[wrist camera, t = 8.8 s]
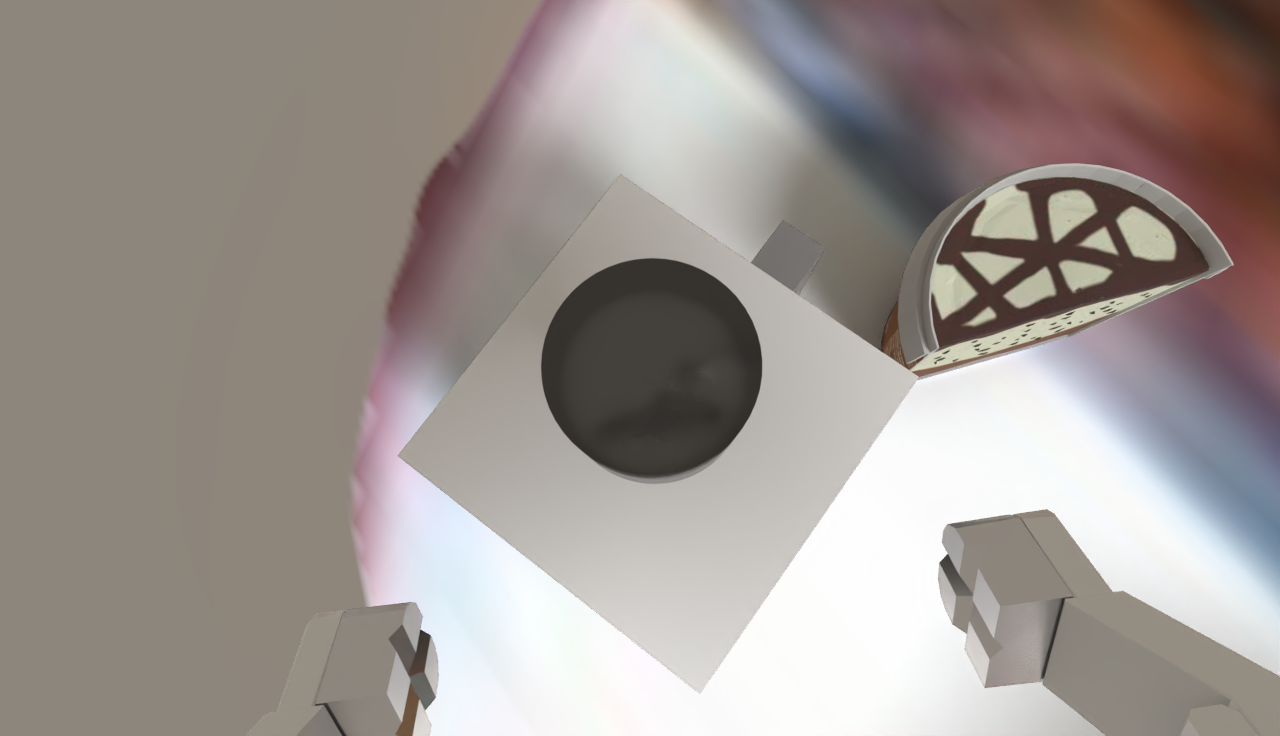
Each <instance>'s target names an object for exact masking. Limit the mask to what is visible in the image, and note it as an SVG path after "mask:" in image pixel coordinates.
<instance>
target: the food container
mask: <svg viewBox="0 0 1280 736" xmlns="http://www.w3.org/2000/svg"><path fill="white" fill-rule="evenodd" d="M1231 265H1234V264H1233V262H1232V260H1231V259H1230V257H1229V255H1228V253H1227V251H1226V250H1225V248H1224V246H1223V244H1222V243H1221V242H1220V240H1219V239H1218V238H1217V236H1216V235H1215V234H1214V233H1213V231H1212V230H1211V229H1210V227H1209V226H1208V225H1207V224H1206V223H1205V222H1204V221H1203V220H1202V219H1201V218H1200V217H1199V216H1198V215H1197V214H1196V213H1195V212H1194V211H1193V210H1192V209H1191V208H1190V207H1189V206H1187V205H1186V204H1185V203H1183V202H1182V201H1181V200H1179V199H1178V198H1177V197H1175V196H1174V195H1173V194H1171V193H1170V192H1168V191H1167V190H1165V189H1163V188H1161V187H1159V186H1157V185H1156V184H1154V183H1152V182H1150V181H1148V180H1146V179H1143V178H1141V177H1138V176H1136V175H1133V174H1130V173H1128V172H1125V171H1121V170H1117V169H1113V168H1109V167H1104V166H1100V165H1089V164H1078V163H1073V164H1054V165H1042V166H1037V167H1031V168H1026V169H1021V170H1018V171H1015V172H1012V173H1009V174H1007V175H1004V176H1001V177H998V178H996V179H994V180H992V181H990V182H988V183H986V184H984V185H982V186H980V187H978V188H976V189H974V190H973V191H971V192H969V193H967V194H965V195H964V196H962V197H960V198H958V199H957V200H956V201H955V202H953V203H952V204H951V205H950V206H948V207H947V208H946V209H945V210H943V211H942V212H941V213H940V214H939V215H938V216H937V217H936V218H935V219H934V221H933V222H932V223H931V224H930V225H929V226H928V227H927V228H926V229H925V231H924V232H923V234H922V236H921V237H920V239H919V240H918V242H917V244H916V245H915V247H914V248H913V250H912V253H911V255H910V258H909V260H908V263H907V265H906V267H905V270H904V274H903V278H902V283H901V287H900V292H899V300H898V301H897V303H896V305H895V306H894V308H893V310H892V311H891V313H890V315H889V318H888V320H887V323H886V325H885V328H884V333H883V338H882V345H881V352H883V353H884V354H886V355H887V356H889V357H890V358H892V359H893V360H895V361H896V362H898V363H899V364H901V365H902V366H903V367H905V368H906V369H908V370H909V371H911V372H912V373H914V374H915V375H917V376H918V377H919V378H918V379H917V380H920V379H924V378H927V377H931V376H934V375H938V374H941V373H945V372H948V371H952V370H955V369H959V368H962V367H966V366H969V365H973V364H977V363H980V362H984V361H987V360H991V359H994V358H998V357H1001V356H1005V355H1008V354H1012V353H1015V352H1019V351H1022V350H1026V349H1029V348H1033V347H1036V346H1040V345H1043V344H1047V343H1050V342H1054V341H1057V340H1061V339H1064V338H1068V337H1071V336H1073V335H1076V334H1078V333H1080V332H1082V331H1085V330H1087V329H1089V328H1092V327H1094V326H1096V325H1098V324H1101V323H1103V322H1105V321H1107V320H1110V319H1112V318H1114V317H1116V316H1119V315H1121V314H1123V313H1125V312H1128V311H1130V310H1132V309H1135V308H1137V307H1139V306H1141V305H1144V304H1146V303H1148V302H1150V301H1153V300H1155V299H1157V298H1159V297H1162V296H1164V295H1166V294H1169V293H1171V292H1173V291H1175V290H1178V289H1180V288H1182V287H1184V286H1187V285H1189V284H1191V283H1193V282H1196V281H1198V280H1200V279H1203V278H1205V279H1208V278H1211V277H1212V276H1214V275H1216V274H1218V273H1220V272H1222V271H1224V270H1226V269H1228V267H1229V266H1231Z"/></svg>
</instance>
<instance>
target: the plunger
mask: <svg viewBox="0 0 1280 736" xmlns="http://www.w3.org/2000/svg"><path fill="white" fill-rule="evenodd" d="M541 377H542V384H543V390H544V395H545V397H546V400H547V403H548V406H549V409H550V411H551V413H552V415H553V417H554V419H555V421H556V422H557V424H558V425H559V427H560V428H561V430H562V431H563V433H564V434H565V435H566V436H567V437H568V438H569V439H570V441H571V442H572V443H573V444H574V445H575V446H577V447H578V448H579V449H580V450H581V451H582V452H584V453H585V454H586V455H587V456H588V457H589V458H591V459H592V460H593V461H594V462H595V463H597V464H598V465H599V466H601V467H602V468H604V469H605V470H607V471H608V472H610V473H612V474H614V475H616V476H618V477H620V478H623V479H626V480H630V481H633V482H639V483H645V484H663V483H671V482H676V481H680V480H683V479H686V478H689V477H691V476H693V475H695V474H697V473H699V472H701V471H703V470H704V469H706V468H707V467H709V466H710V465H712V464H713V463H714V462H715V461H716V460H717V459H718V458H719V457H720V456H722V454H723V453H724V452H725V451H726V450H727V448H728V447H729V446H730V445H731V443H732V442H733V441H734V439H735V438H736V437H737V435H738V434H739V432H740V431H741V430H742V428H743V427H744V425H745V423H746V422H747V420H748V419H749V417H750V415H751V413H752V411H753V408H754V406H755V404H756V401H757V398H758V394H759V391H760V386H761V379H762V353H761V346H760V342H759V338H758V334H757V331H756V329H755V326H754V324H753V321H752V319H751V317H750V316H749V314H748V312H747V310H746V308H745V307H744V306H743V304H742V303H741V302H740V300H739V299H738V298H737V296H736V295H735V294H734V293H733V292H732V291H731V290H730V289H729V288H728V287H727V286H726V285H724V284H723V283H722V282H721V281H719V280H718V279H717V278H715V277H714V276H712V275H710V274H709V273H707V272H705V271H704V270H701V269H699V268H697V267H695V266H692V265H690V264H686V263H683V262H679V261H675V260H669V259H660V258H645V259H635V260H630V261H625V262H621V263H618V264H615V265H613V266H610V267H607V268H605V269H603V270H601V271H599V272H597V273H595V274H594V275H592V276H591V277H589V278H588V279H586V280H585V281H583V282H582V283H581V284H580V285H579V286H578V287H577V288H575V289H574V290H573V291H572V292H571V293H570V295H569V296H568V297H567V298H566V299H565V300H564V301H563V303H562V304H561V306H560V307H559V309H558V310H557V312H556V313H555V315H554V317H553V319H552V321H551V323H550V325H549V328H548V331H547V334H546V337H545V340H544V345H543V350H542V358H541Z"/></svg>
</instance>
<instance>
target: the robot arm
mask: <svg viewBox="0 0 1280 736" xmlns="http://www.w3.org/2000/svg"><path fill="white" fill-rule="evenodd" d="M942 543H943V545H944V547H945V549H946V551H947V553H948V554H947V555H946V556H945V557H944V559H943V560H942V561H941V562H940V563H939V574H938V581H939V587H940V593H941V598H942V601H943V604H944V607H945V609H946V612H947V614H948V616H949V618H950V620H951V622H952V624H953V625H955V626H956V627H958V628H959V629H961V630H962V631H964V632H965V633H967V638H966V645H965V651H966V653H967V654H968V656H969V658H970V660H971V662H972V664H973V666H974V668H975V670H976V672H977V674H978V676H979V678H980V680H981V682H982V684H983V686H984V688H989V687H998V686H1006V685H1015V684H1024V683H1033V682H1041V681H1043V685H1044V686H1045V687H1046V688H1048V689H1049V690H1050V691H1051V692H1053V693H1054V694H1055V695H1056V696H1058V697H1059V698H1060V699H1061V700H1063V701H1064V702H1065V703H1066V704H1068V705H1069V706H1070V707H1071V708H1073V709H1074V710H1075V711H1076V712H1078V713H1079V714H1080V715H1081V716H1083V717H1084V718H1085V719H1086V720H1088V721H1089V722H1090V723H1091V724H1093V725H1094V726H1095V727H1096V728H1097V729H1099V730H1100V731H1101V732H1102V733H1104V734H1105V735H1106V736H1280V677H1279V676H1278V675H1276V674H1274V673H1272V672H1270V671H1268V670H1267V669H1265V668H1263V667H1261V666H1259V665H1257V664H1256V663H1254V662H1252V661H1250V660H1248V659H1246V658H1245V657H1243V656H1241V655H1239V654H1237V653H1236V652H1234V651H1232V650H1230V649H1228V648H1226V647H1225V646H1223V645H1221V644H1219V643H1217V642H1215V641H1214V640H1212V639H1210V638H1208V637H1206V636H1204V635H1203V634H1201V633H1199V632H1197V631H1195V630H1193V629H1192V628H1190V627H1188V626H1186V625H1184V624H1182V623H1181V622H1179V621H1177V620H1175V619H1173V618H1171V617H1170V616H1168V615H1166V614H1164V613H1162V612H1160V611H1159V610H1157V609H1155V608H1153V607H1151V606H1149V605H1148V604H1146V603H1144V602H1142V601H1140V600H1139V599H1137V598H1135V597H1133V596H1131V595H1129V594H1128V593H1126V592H1124V591H1119V592H1112V590H1111V589H1110V588H1109V586H1108V585H1107V584H1106V582H1105V581H1104V580H1103V578H1102V577H1101V576H1100V574H1099V573H1098V572H1097V570H1096V569H1095V568H1094V566H1093V565H1092V564H1091V562H1090V561H1089V560H1088V558H1087V557H1086V556H1085V554H1084V553H1083V552H1082V550H1081V549H1080V548H1079V546H1078V545H1077V544H1076V542H1075V541H1074V540H1073V538H1072V537H1071V535H1070V534H1069V533H1068V531H1067V530H1066V529H1065V527H1064V526H1063V525H1062V523H1061V522H1060V521H1059V519H1058V518H1057V517H1056V515H1055V514H1054V513H1052V512H1051V511H1049V510H1047V509H1046V510H1040V511H1033V512H1026V513H1019V514H1014V515H1004V516H997V517H991V518H984V519H978V520H972V521H965V522H959V523H952V524H947V526H946V527H945V529H944V531H943V538H942ZM422 618H423V616H422V614H421V612H420V610H419V608H418V606H417V604H416V603H413V602H408V603H400V604H391V605H383V606H374V607H366V608H358V609H349V610H343V611H335V612H328V613H320V614H315V615H314V616H313V617H312V619H311V620H310V621H309V622H308V624H307V626H306V629H305V632H304V635H303V637H302V640H301V643H300V646H299V649H298V652H297V655H296V658H295V660H294V663H293V666H292V669H291V672H290V675H289V677H288V681H287V684H286V686H285V689H284V692H283V695H282V697H281V701H280V703H279V706H278V709H277V711H275V712H269V713H266V714H265V715H264V717H262V718H261V719H260V720H259V721H258V722H257V723H256V724H255V725H254V727H253V728H251V730H250V731H249V732H248V733H247V734H246V735H245V736H430V730H431V723H430V721H429V719H428V716H427V714H426V712H425V710H426V709H427V708H428V706H429V705H430V704H431V703H432V702H433V700H434V699H435V698H436V693H437V686H438V658H437V653H436V648H435V645H434V642H433V640H432V637H431V635H429V634H427V633H425V632H424V631H422V630H420V628H421V623H422Z"/></svg>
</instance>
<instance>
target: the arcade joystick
mask: <svg viewBox="0 0 1280 736" xmlns="http://www.w3.org/2000/svg"><path fill="white" fill-rule="evenodd" d="M824 249H825V248H824V247H823V246H821V245H820V244H818V243H817V242H815V241H814V240H812V239H810V238H809V237H807V236H806V235H804V234H803V233H801V232H800V231H798V230H797V229H795V228H794V227H792V226H791V225H789V224H788V223H786V222H785V221H782V223H781V224H780V225H779V227H778V228H777V229H776V231H775V232H774V233H773V234H772V235H771V237H770V238H769V239H768V241H767V242H766V243H765V245H764V246H763V247H762V249H761V250H760V251H759V253H758V254H757V255H756V257H755V258H754V259H753V261H752V262H751V263H750V262H749V261H747V260H746V259H744V258H743V257H742V256H740V255H739V254H737V253H736V252H734V251H733V250H731V249H730V248H728V247H727V246H725V245H724V244H722V243H721V242H719V241H718V240H717V239H715V238H714V237H712V236H711V235H709V234H708V233H706V232H705V231H703V230H702V229H700V228H699V227H697V226H696V225H694V224H693V223H691V222H690V221H689V220H687V219H686V218H684V217H683V216H681V215H680V214H678V213H677V212H675V211H674V210H672V209H671V208H669V207H668V206H666V205H665V204H664V203H662V202H661V201H659V200H658V199H656V198H655V197H653V196H652V195H650V194H649V193H647V192H646V191H644V190H643V189H641V188H640V187H638V186H637V185H636V184H634V183H633V182H631V181H630V180H628V179H627V178H625V177H624V176H622V175H621V174H620V176H619V177H618V178H617V179H616V181H615V182H614V183H613V184H612V186H611V187H610V188H609V189H608V191H607V192H606V193H605V195H604V196H603V197H602V198H601V200H600V201H599V202H598V203H597V205H596V206H595V207H594V208H593V210H592V211H591V212H590V213H589V215H588V216H587V217H586V218H585V220H584V221H583V222H582V224H581V225H580V226H579V227H578V229H577V230H576V231H575V232H574V234H573V235H572V236H571V237H570V239H569V240H568V241H567V242H566V244H565V245H564V246H563V248H562V249H561V250H560V251H559V253H558V254H557V255H556V256H555V258H554V259H553V260H552V261H551V263H550V264H549V265H548V266H547V268H546V269H545V270H544V272H543V273H542V274H541V275H540V277H539V278H538V279H537V280H536V282H535V283H534V284H533V285H532V287H531V288H530V289H529V290H528V292H527V293H526V294H525V296H524V297H523V298H522V299H521V301H520V302H519V303H518V304H517V306H516V307H515V308H514V309H513V311H512V312H511V313H510V314H509V316H508V317H507V318H506V320H505V321H504V322H503V323H502V325H501V326H500V327H499V328H498V330H497V331H496V332H495V333H494V335H493V336H492V337H491V338H490V340H489V341H488V342H487V344H486V345H485V346H484V347H483V349H482V350H481V351H480V352H479V354H478V355H477V356H476V357H475V359H474V360H473V361H472V362H471V364H470V365H469V366H468V368H467V369H466V370H465V371H464V373H463V374H462V375H461V376H460V378H459V379H458V380H457V381H456V383H455V384H454V385H453V386H452V388H451V389H450V390H449V391H448V393H447V394H446V395H445V397H444V398H443V399H442V400H441V402H440V403H439V404H438V405H437V407H436V408H435V409H434V410H433V412H432V413H431V414H430V415H429V417H428V418H427V419H426V421H425V422H424V423H423V424H422V426H421V427H420V428H419V429H418V431H417V432H416V433H415V434H414V436H413V437H412V438H411V439H410V441H409V442H408V443H407V445H406V446H405V447H404V448H403V450H402V451H401V452H400V453H399V455H398V457H400V458H401V459H402V460H403V461H405V462H406V463H407V464H409V465H410V466H411V467H412V468H414V469H415V470H416V471H417V472H419V473H420V474H421V475H422V476H424V477H425V478H426V479H428V480H429V481H430V482H431V483H433V484H434V485H435V486H436V487H438V488H439V489H440V490H442V491H443V492H444V493H445V494H447V495H448V496H449V497H450V498H452V499H453V500H454V501H455V502H457V503H458V504H459V505H461V506H462V507H463V508H464V509H466V510H467V511H468V512H469V513H471V514H472V515H473V516H475V517H476V518H477V519H478V520H480V521H481V522H482V523H483V524H485V525H486V526H487V527H488V528H490V529H491V530H492V531H494V532H495V533H496V534H497V535H499V536H500V537H501V538H502V539H504V540H505V541H506V542H508V543H509V544H510V545H511V546H513V547H514V548H515V549H516V550H518V551H519V552H520V553H521V554H523V555H524V556H525V557H527V558H528V559H529V560H530V561H532V562H533V563H534V564H535V565H537V566H538V567H539V568H541V569H542V570H543V571H544V572H546V573H547V574H548V575H549V576H551V577H552V578H553V579H554V580H556V581H557V582H558V583H560V584H561V585H562V586H563V587H565V588H566V589H567V590H568V591H570V592H571V593H572V594H574V595H575V596H576V597H577V598H579V599H580V600H581V601H582V602H584V603H585V604H586V605H587V606H589V607H590V608H591V609H593V610H594V611H595V612H596V613H598V614H599V615H600V616H601V617H603V618H604V619H605V620H607V621H608V622H609V623H610V624H612V625H613V626H614V627H615V628H617V629H618V630H619V631H620V632H622V633H623V634H624V635H626V636H627V637H628V638H629V639H631V640H632V641H633V642H634V643H636V644H637V645H638V646H639V647H641V648H642V649H643V650H645V651H646V652H647V653H648V654H650V655H651V656H652V657H653V658H655V659H656V660H657V661H659V662H660V663H661V664H662V665H664V666H665V667H666V668H667V669H669V670H670V671H671V672H672V673H674V674H675V675H676V676H678V677H679V678H680V679H681V680H683V681H684V682H685V683H686V684H688V685H689V686H690V687H692V688H693V689H694V690H695V691H697V692H698V693H699V694H700V693H701V692H702V690H703V689H704V687H705V686H706V684H707V683H708V682H709V680H710V679H711V677H712V676H713V674H714V673H715V671H716V670H717V669H718V667H719V666H720V664H721V663H722V661H723V660H724V658H725V657H726V655H727V654H728V653H729V651H730V650H731V648H732V647H733V645H734V644H735V642H736V641H737V640H738V638H739V637H740V635H741V634H742V632H743V631H744V629H745V628H746V627H747V625H748V624H749V622H750V621H751V619H752V618H753V616H754V615H755V614H756V612H757V611H758V609H759V608H760V606H761V605H762V603H763V602H764V601H765V599H766V598H767V596H768V595H769V593H770V592H771V590H772V589H773V587H774V586H775V585H776V583H777V582H778V580H779V579H780V577H781V576H782V574H783V573H784V572H785V570H786V569H787V567H788V566H789V564H790V563H791V561H792V560H793V559H794V557H795V556H796V554H797V553H798V551H799V550H800V548H801V547H802V546H803V544H804V543H805V541H806V540H807V538H808V537H809V535H810V534H811V532H812V531H813V530H814V528H815V527H816V525H817V524H818V522H819V521H820V519H821V518H822V517H823V515H824V514H825V512H826V511H827V509H828V508H829V506H830V505H831V504H832V502H833V501H834V499H835V498H836V496H837V495H838V493H839V492H840V491H841V489H842V488H843V486H844V485H845V483H846V482H847V480H848V479H849V477H850V476H851V475H852V473H853V472H854V470H855V469H856V467H857V466H858V464H859V463H860V462H861V460H862V459H863V457H864V456H865V454H866V453H867V451H868V450H869V449H870V447H871V446H872V444H873V443H874V441H875V440H876V438H877V437H878V436H879V434H880V433H881V431H882V430H883V428H884V427H885V425H886V424H887V423H888V421H889V420H890V418H891V417H892V415H893V414H894V412H895V411H896V409H897V408H898V407H899V405H900V404H901V402H902V401H903V399H904V398H905V396H906V395H907V394H908V392H909V391H910V389H911V388H912V386H913V385H914V383H915V382H916V381H917V379H918V378H919V377H918V376H917V375H915V374H914V373H912V372H911V371H909V370H908V369H906V368H905V367H903V366H902V365H901V364H899V363H898V362H896V361H895V360H893V359H892V358H890V357H889V356H887V355H886V354H884V353H883V352H881V351H880V350H878V349H877V348H875V347H874V346H873V345H871V344H870V343H868V342H867V341H865V340H864V339H862V338H861V337H859V336H858V335H856V334H855V333H853V332H852V331H850V330H849V329H848V328H846V327H845V326H843V325H842V324H840V323H839V322H837V321H836V320H834V319H833V318H831V317H830V316H828V315H827V314H825V313H824V312H822V311H821V310H820V309H818V308H817V307H815V306H814V305H812V304H811V303H809V302H808V301H806V300H805V299H803V298H802V297H800V296H799V294H800V292H801V290H802V288H803V287H804V285H805V283H806V281H807V279H808V278H809V276H810V274H811V272H812V270H813V269H814V267H815V265H816V263H817V261H818V260H819V258H820V256H821V254H822V252H823V251H824ZM645 258H660V259H669V260H675V261H679V262H683V263H686V264H690V265H692V266H695V267H697V268H699V269H701V270H704V271H705V272H707V273H709V274H710V275H712V276H714V277H715V278H717V279H718V280H719V281H721V282H722V283H723V284H724V285H726V286H727V287H728V288H729V289H730V290H731V291H732V292H733V293H734V294H735V295H736V296H737V298H738V299H739V300H740V302H741V303H742V304H743V306H744V307H745V308H746V310H747V312H748V314H749V316H750V317H751V319H752V321H753V324H754V326H755V329H756V331H757V334H758V338H759V342H760V346H761V353H762V379H761V386H760V391H759V394H758V398H757V401H756V404H755V406H754V408H753V411H752V413H751V415H750V417H749V419H748V420H747V422H746V423H745V425H744V427H743V428H742V430H741V431H740V432H739V434H738V435H737V437H736V438H735V439H734V441H733V442H732V443H731V445H730V446H729V447H728V448H727V450H726V451H725V452H724V453H723V454H722V456H720V457H719V458H718V459H717V460H716V461H715V462H714V463H713V464H712V465H710V466H709V467H707V468H706V469H704V470H703V471H701V472H699V473H697V474H695V475H693V476H691V477H689V478H686V479H683V480H680V481H676V482H671V483H663V484H645V483H639V482H633V481H630V480H626V479H623V478H620V477H618V476H616V475H614V474H612V473H610V472H608V471H607V470H605V469H604V468H602V467H601V466H599V465H598V464H597V463H595V462H594V461H593V460H592V459H591V458H589V457H588V456H587V455H586V454H585V453H584V452H582V451H581V450H580V449H579V448H578V447H577V446H575V445H574V444H573V443H572V442H571V441H570V439H569V438H568V437H567V436H566V435H565V434H564V433H563V431H562V430H561V428H560V427H559V425H558V424H557V422H556V421H555V419H554V417H553V415H552V413H551V411H550V409H549V406H548V403H547V400H546V397H545V395H544V390H543V384H542V377H541V358H542V350H543V345H544V340H545V337H546V334H547V331H548V328H549V325H550V323H551V321H552V319H553V317H554V315H555V313H556V312H557V310H558V309H559V307H560V306H561V304H562V303H563V301H564V300H565V299H566V298H567V297H568V296H569V295H570V293H571V292H572V291H573V290H574V289H575V288H577V287H578V286H579V285H580V284H581V283H582V282H583V281H585V280H586V279H588V278H589V277H591V276H592V275H594V274H595V273H597V272H599V271H601V270H603V269H605V268H607V267H610V266H613V265H615V264H618V263H621V262H625V261H630V260H635V259H645Z"/></svg>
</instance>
